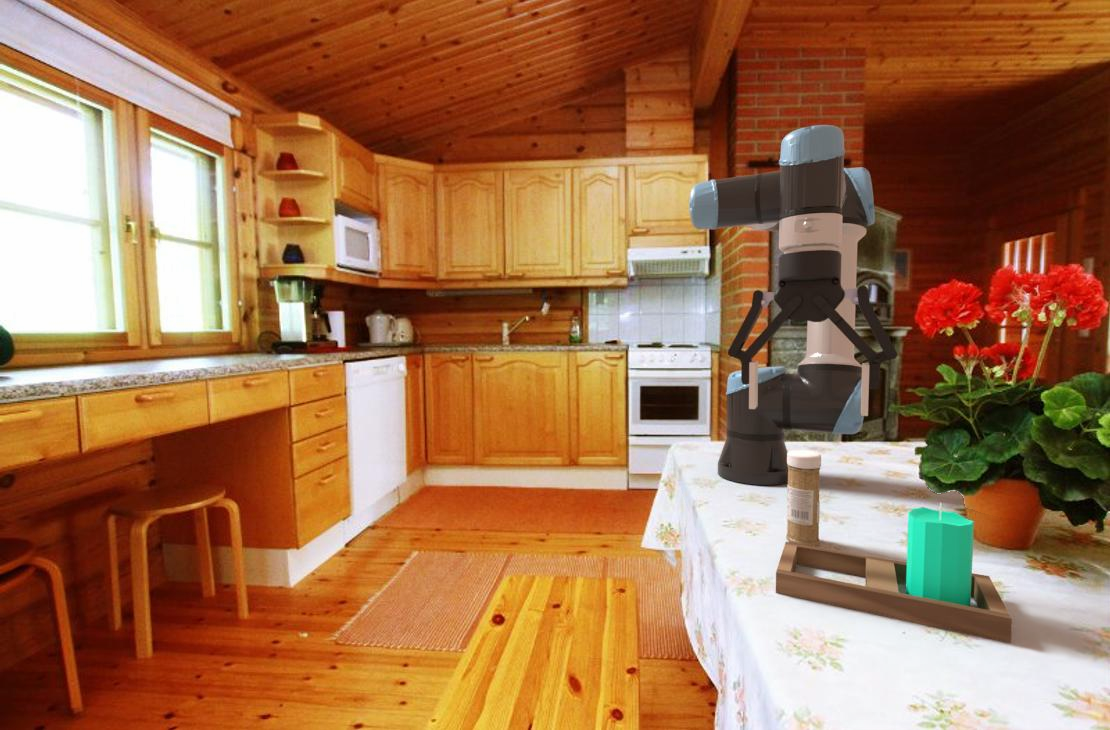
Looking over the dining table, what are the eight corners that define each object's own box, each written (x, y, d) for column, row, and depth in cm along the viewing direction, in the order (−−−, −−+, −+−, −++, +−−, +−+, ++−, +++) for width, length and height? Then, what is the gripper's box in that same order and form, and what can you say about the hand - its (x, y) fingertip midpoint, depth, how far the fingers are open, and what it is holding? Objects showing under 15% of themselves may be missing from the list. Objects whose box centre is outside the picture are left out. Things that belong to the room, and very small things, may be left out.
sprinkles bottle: (825, 543, 79) (827, 453, 78) (807, 550, 77) (809, 457, 76) (796, 533, 83) (798, 447, 82) (779, 540, 80) (780, 451, 79)
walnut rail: (785, 559, 74) (785, 541, 74) (988, 596, 63) (989, 576, 63) (775, 592, 65) (776, 572, 64) (1010, 642, 54) (1011, 618, 54)
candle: (973, 626, 57) (978, 515, 56) (906, 610, 60) (909, 506, 59) (966, 601, 62) (971, 499, 61) (904, 588, 65) (908, 491, 64)
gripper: (707, 255, 74) (706, 409, 75) (927, 239, 62) (920, 422, 63) (719, 261, 80) (718, 401, 82) (920, 247, 68) (914, 412, 70)
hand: (806, 411), depth 73 cm, fingers open, 13 cm apart
